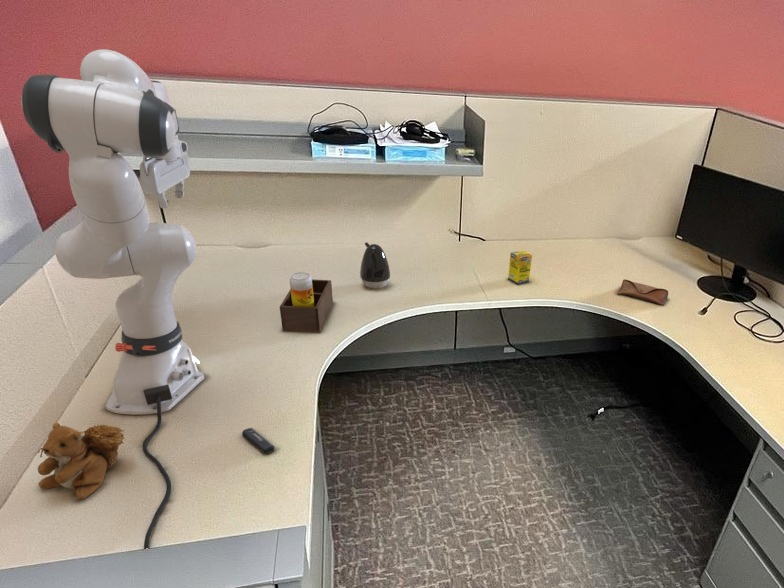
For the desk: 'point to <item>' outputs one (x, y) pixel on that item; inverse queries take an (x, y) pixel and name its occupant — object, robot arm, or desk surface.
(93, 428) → the stuffed squirrel
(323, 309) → the box
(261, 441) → the usb stick
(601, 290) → the desk surface
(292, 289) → the beer can
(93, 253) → the robot arm
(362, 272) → the black egg-shaped figure
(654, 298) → the sunglasses case
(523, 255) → the supplement box
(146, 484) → the desk surface
